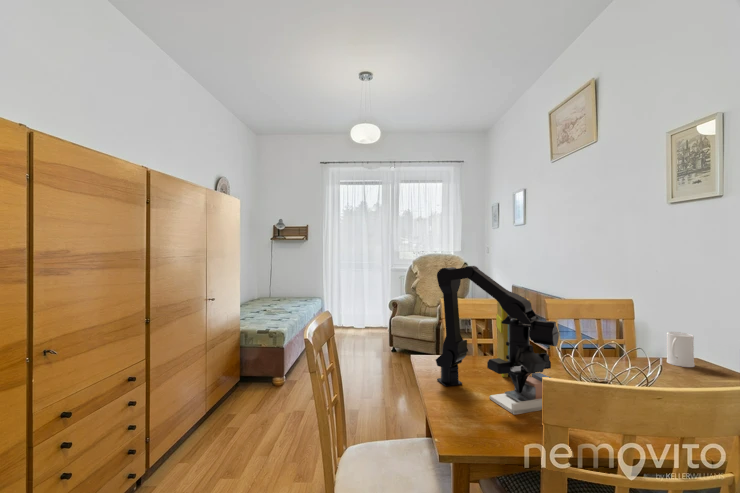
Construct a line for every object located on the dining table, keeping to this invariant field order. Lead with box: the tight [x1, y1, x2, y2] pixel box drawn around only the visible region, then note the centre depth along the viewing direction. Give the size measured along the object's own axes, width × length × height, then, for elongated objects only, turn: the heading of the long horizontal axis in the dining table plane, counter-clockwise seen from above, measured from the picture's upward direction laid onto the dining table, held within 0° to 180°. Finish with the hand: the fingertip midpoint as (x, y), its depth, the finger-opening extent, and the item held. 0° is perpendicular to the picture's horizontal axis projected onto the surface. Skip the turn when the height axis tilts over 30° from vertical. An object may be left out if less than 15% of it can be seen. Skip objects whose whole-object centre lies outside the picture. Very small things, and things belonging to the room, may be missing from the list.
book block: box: [526, 375, 542, 399], centre depth 107 cm, size 7×4×6 cm, turn 17°
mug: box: [666, 331, 696, 368], centre depth 141 cm, size 12×8×12 cm
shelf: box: [489, 372, 552, 415], centre depth 106 cm, size 11×19×6 cm, turn 107°
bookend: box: [504, 382, 536, 402], centre depth 106 cm, size 8×4×4 cm, turn 17°
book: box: [495, 301, 514, 378], centre depth 135 cm, size 17×7×25 cm, turn 168°
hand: (519, 392), depth 106 cm, fingers closed
